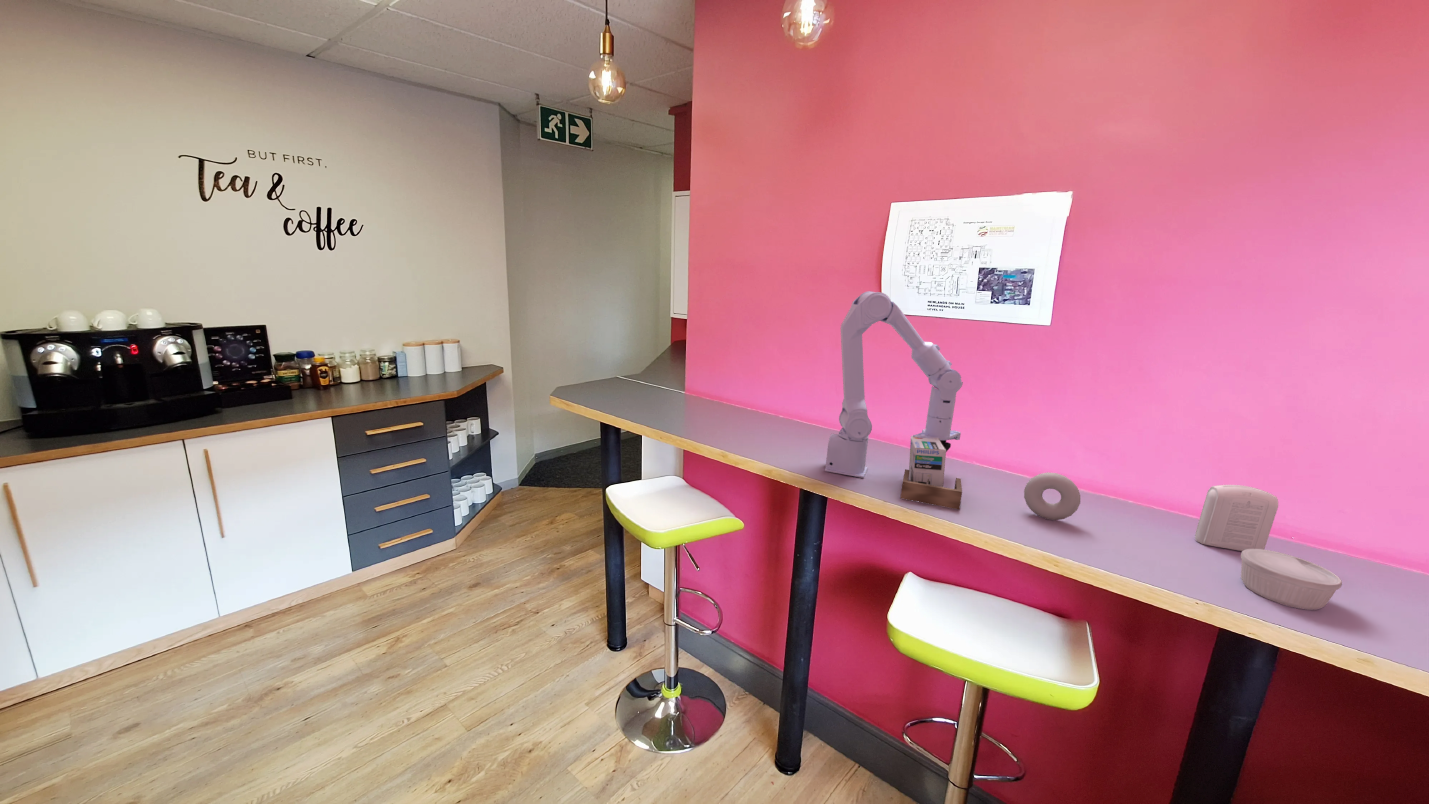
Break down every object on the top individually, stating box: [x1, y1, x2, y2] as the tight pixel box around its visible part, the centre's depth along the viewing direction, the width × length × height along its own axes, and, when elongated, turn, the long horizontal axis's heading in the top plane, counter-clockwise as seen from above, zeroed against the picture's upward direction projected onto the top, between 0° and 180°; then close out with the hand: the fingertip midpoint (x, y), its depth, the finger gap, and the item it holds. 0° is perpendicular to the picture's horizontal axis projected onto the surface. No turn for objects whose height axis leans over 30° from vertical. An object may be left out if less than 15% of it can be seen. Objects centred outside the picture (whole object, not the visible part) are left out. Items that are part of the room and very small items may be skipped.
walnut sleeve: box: [899, 469, 963, 511], centre depth 120 cm, size 12×9×4 cm
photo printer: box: [1194, 484, 1279, 552], centre depth 103 cm, size 10×4×12 cm, turn 72°
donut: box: [1023, 471, 1081, 521], centre depth 112 cm, size 10×4×10 cm, turn 55°
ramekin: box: [1240, 549, 1343, 611], centre depth 87 cm, size 11×11×5 cm
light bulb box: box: [908, 435, 947, 487], centre depth 126 cm, size 11×7×11 cm, turn 166°
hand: (931, 469), depth 134 cm, fingers closed
